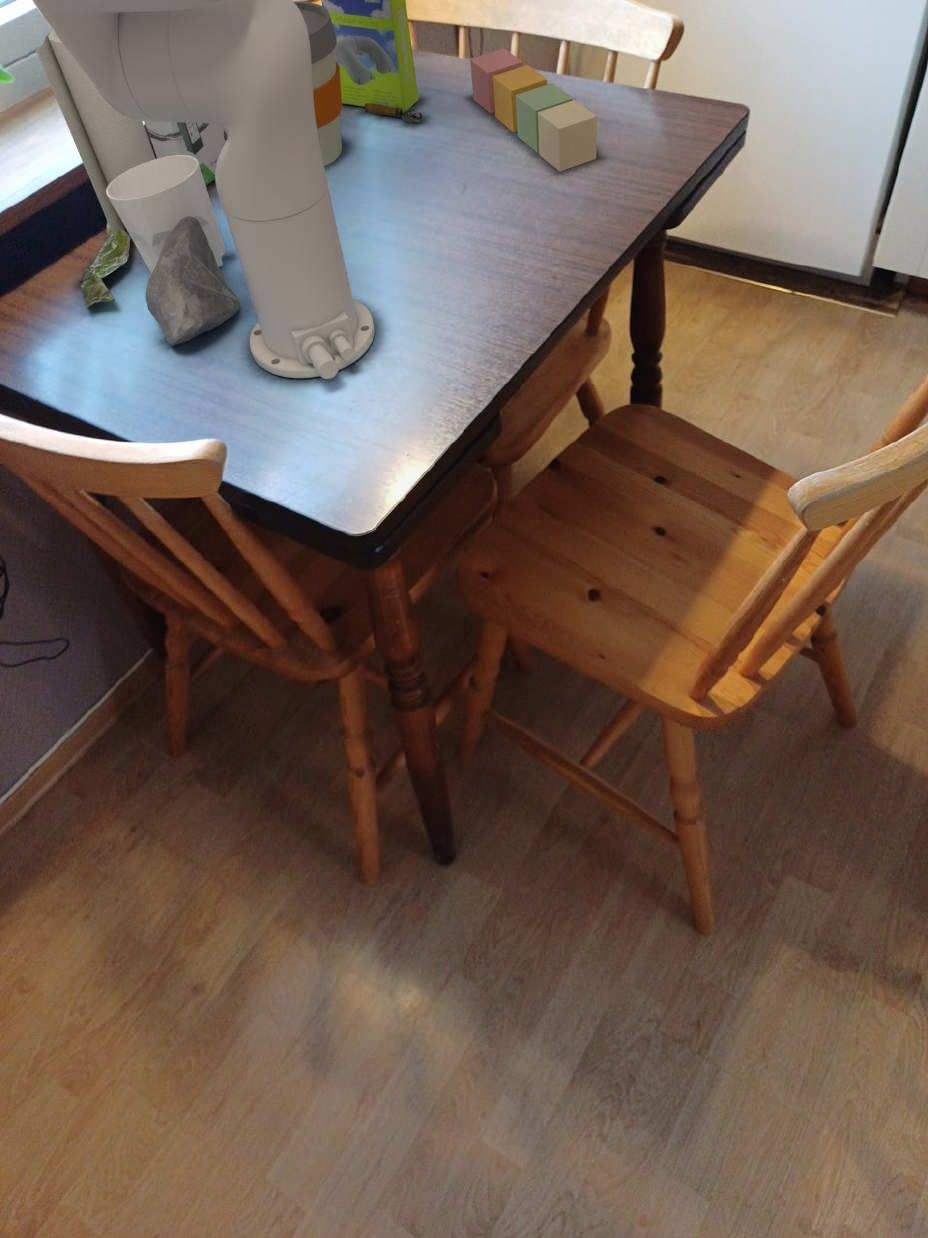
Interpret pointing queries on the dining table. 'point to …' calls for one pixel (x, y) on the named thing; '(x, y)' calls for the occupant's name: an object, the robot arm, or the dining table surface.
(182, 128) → the ink box
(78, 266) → the dining table surface
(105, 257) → the green crumpled strip
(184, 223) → the stone
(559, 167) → the block
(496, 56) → the block
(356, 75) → the box
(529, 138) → the block
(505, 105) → the ochre block
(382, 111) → the can opener
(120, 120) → the paper towel roll
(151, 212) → the cup
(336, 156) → the reusable coffee cup
